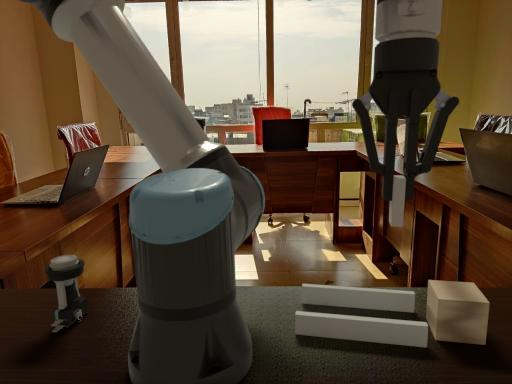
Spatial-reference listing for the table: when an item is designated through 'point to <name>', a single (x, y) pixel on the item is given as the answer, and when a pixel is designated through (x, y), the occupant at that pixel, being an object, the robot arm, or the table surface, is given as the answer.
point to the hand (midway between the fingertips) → (395, 223)
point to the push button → (67, 289)
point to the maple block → (457, 312)
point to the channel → (356, 325)
